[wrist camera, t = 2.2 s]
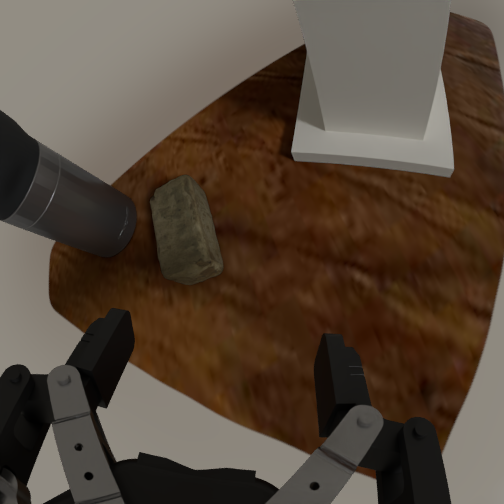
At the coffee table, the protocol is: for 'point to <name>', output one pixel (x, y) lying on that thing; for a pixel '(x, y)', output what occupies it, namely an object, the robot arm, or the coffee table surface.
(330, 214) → the coffee table surface
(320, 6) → the shelf stand
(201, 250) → the stone block
